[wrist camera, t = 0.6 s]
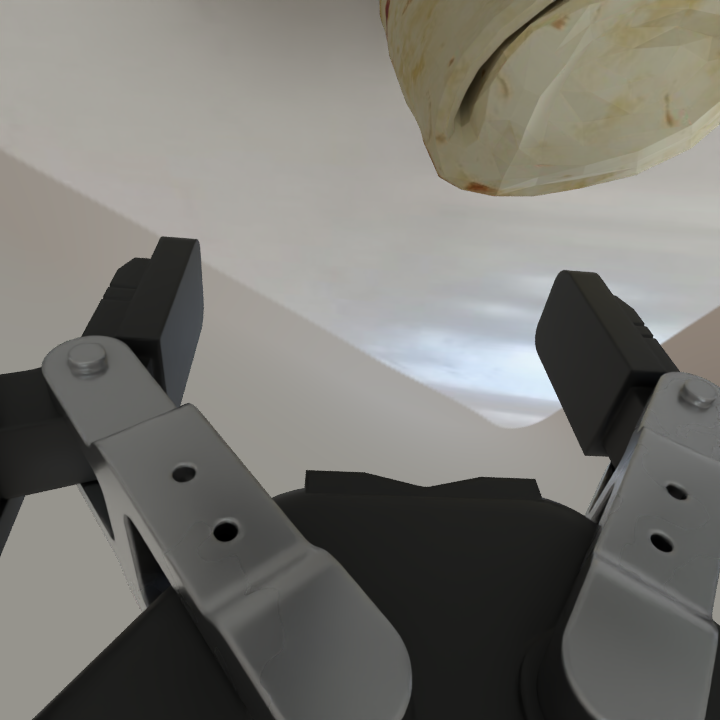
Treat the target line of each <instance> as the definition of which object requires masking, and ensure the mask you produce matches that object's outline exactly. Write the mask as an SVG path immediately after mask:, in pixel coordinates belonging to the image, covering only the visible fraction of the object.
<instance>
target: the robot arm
mask: <svg viewBox="0 0 720 720" xmlns="http://www.w3.org/2000/svg"><path fill="white" fill-rule="evenodd" d="M203 306H204V303H203V285H202V270H201V253H200V244H199V241H198V239H188V238H176V237H161V238H160V240H159V242H158V244H157V246H156V249H155V251H154V253H153V255H152V257H151V259H147V258H134V259H132V260H131V261H129V262H128V263H126V264H125V265H124V266H122V267H121V268H119V269H118V270H117V272H116V274H115V275H114V277H113V279H112V281H111V283H110V287H108V289H107V290H106V292H105V294H104V296H103V299H101V301H100V303H99V305H98V307H97V309H96V311H95V313H94V314H93V316H92V318H91V320H90V321H89V323H88V325H87V327H86V329H85V331H84V333H83V334H82V336H81V337H80V338H76V339H72V340H69V341H66V342H64V343H62V344H60V345H58V346H57V347H55V348H54V349H52V350H51V351H50V352H49V353H48V354H47V356H46V357H45V358H44V360H43V362H42V367H40V368H37V369H33V370H28V371H21V372H15V373H8V374H1V375H0V556H1V553H2V551H3V548H4V546H5V543H6V541H7V539H8V536H9V534H10V531H11V529H12V526H13V524H14V522H15V519H16V517H17V514H18V512H19V509H20V507H21V504H22V502H23V500H24V497H25V495H30V494H34V493H39V492H43V491H48V490H52V489H57V488H62V487H66V486H71V485H75V484H76V485H77V487H78V489H79V491H80V492H81V494H82V496H83V498H84V499H85V501H86V503H87V505H88V506H89V508H90V510H91V512H92V514H93V515H94V517H95V519H96V521H97V523H98V524H99V526H100V528H101V530H102V532H103V533H104V535H105V537H106V539H107V541H108V542H109V544H110V546H111V548H112V549H113V551H114V553H115V555H116V557H117V559H118V561H119V563H120V566H121V568H122V571H123V573H124V576H125V578H126V580H127V583H128V585H129V588H130V590H131V592H132V594H133V596H134V598H135V600H136V602H137V604H138V606H139V608H140V609H141V611H142V613H141V614H140V615H139V616H138V618H136V619H135V620H134V621H133V622H132V623H131V624H130V625H129V626H128V627H127V628H126V629H125V630H124V631H123V632H122V633H121V634H120V635H119V636H118V637H117V638H116V639H115V640H114V641H113V642H112V643H111V644H110V645H109V646H108V647H107V648H106V649H104V650H103V652H101V653H100V654H99V655H98V656H97V657H96V658H95V659H94V660H93V661H92V662H91V663H90V664H89V665H88V666H87V667H86V668H85V669H84V670H83V671H82V672H81V673H80V674H79V675H78V676H77V677H76V678H75V679H74V680H73V681H72V682H70V683H69V684H68V685H67V686H66V687H65V688H64V689H63V690H62V691H61V692H60V693H59V694H58V695H57V696H56V697H55V698H54V699H53V700H52V701H51V702H50V703H49V704H48V705H47V706H46V707H45V708H44V709H43V710H42V711H41V712H40V713H38V714H37V716H35V718H33V719H32V720H720V626H719V625H718V624H717V623H716V622H715V621H713V619H712V610H713V605H714V599H715V594H716V589H717V584H718V578H719V573H720V387H718V386H717V385H715V384H714V383H712V382H710V381H708V380H706V379H704V378H702V377H699V376H696V375H693V374H690V373H684V372H680V371H679V370H678V368H677V367H676V366H675V364H674V363H673V362H672V360H671V359H670V358H669V356H668V355H667V354H666V352H665V351H664V349H663V348H662V347H661V345H660V344H659V343H658V341H657V340H656V339H655V338H653V335H652V333H651V332H650V330H649V329H648V328H647V327H646V326H644V322H643V321H642V320H641V318H640V317H639V316H638V314H637V313H636V312H635V310H634V309H633V308H632V307H630V306H629V305H628V304H626V303H625V302H623V301H622V300H621V299H619V298H618V297H617V296H613V294H612V293H611V291H610V290H609V289H608V287H607V286H606V284H605V283H604V282H603V280H602V279H601V277H600V276H599V275H598V274H597V273H593V272H581V271H569V270H563V271H561V272H560V273H559V274H558V275H557V277H556V279H555V281H554V284H553V286H552V289H551V292H550V294H549V297H548V299H547V302H546V305H545V307H544V310H543V312H542V315H541V318H540V320H539V323H538V326H537V329H536V335H535V345H536V350H537V353H538V355H539V358H540V360H541V362H542V364H543V366H544V368H545V371H546V373H547V375H548V377H549V379H550V381H551V384H552V386H553V388H554V390H555V392H556V394H557V397H558V399H559V401H560V403H561V405H562V407H563V410H564V412H565V414H566V416H567V418H568V420H569V422H570V425H571V427H572V429H573V431H574V433H575V436H576V437H577V440H578V442H579V444H580V446H581V448H582V450H583V453H584V455H585V456H606V457H609V458H610V460H611V462H610V464H609V465H608V467H607V469H606V470H605V472H604V474H603V476H602V478H601V481H600V483H599V485H598V488H597V490H596V492H595V494H594V496H593V499H592V501H591V503H590V505H589V508H588V510H587V512H586V514H585V516H584V515H582V514H580V513H579V512H577V511H575V510H573V509H571V508H569V507H567V506H565V505H562V504H560V503H557V502H554V501H552V500H549V499H545V498H542V496H541V494H540V491H539V488H538V485H537V483H536V480H535V479H520V478H495V477H493V478H492V477H478V478H473V479H468V480H462V481H457V482H452V483H447V484H441V485H436V486H431V487H422V486H417V485H413V484H409V483H405V482H401V481H397V480H393V479H389V478H385V477H380V476H377V475H372V474H369V473H365V472H364V473H363V472H339V471H314V470H306V478H305V488H302V489H297V490H293V491H289V492H286V493H283V494H280V495H277V496H275V497H273V498H271V497H270V496H269V494H268V493H267V492H266V491H265V489H264V488H263V487H262V486H261V484H260V483H259V482H258V481H257V480H256V478H255V477H254V476H253V475H252V474H251V472H250V471H249V470H248V469H247V468H246V466H245V465H244V464H243V463H242V461H241V460H240V459H239V458H238V457H237V455H236V454H235V453H234V452H233V451H232V449H231V448H230V447H229V446H228V445H227V443H226V442H225V441H224V440H223V438H222V437H221V436H220V435H219V434H218V432H217V431H216V430H215V429H214V428H213V426H212V425H211V424H210V423H209V422H208V420H207V419H206V418H205V417H204V416H203V414H202V413H201V412H200V411H199V410H198V409H197V408H196V407H195V406H194V405H193V404H190V403H187V404H184V405H182V406H180V404H181V401H182V397H183V394H184V390H185V387H186V382H187V379H188V376H189V372H190V369H191V365H192V361H193V358H194V354H195V351H196V347H197V343H198V340H199V336H200V332H201V329H202V322H203V310H204V307H203Z"/></svg>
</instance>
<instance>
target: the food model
mask: <svg viewBox="0 0 720 720" xmlns="http://www.w3.org/2000/svg"><path fill="white" fill-rule="evenodd" d="M380 17H381V21H382V24H383V27H384V30H385V33H386V37H387V42H388V49H389V56H390V59H391V62H392V64H393V67H394V70H395V73H396V76H397V79H398V81H399V84H400V87H401V90H402V93H403V95H404V98H405V100H406V103H407V105H408V107H409V108H410V110H411V112H412V113H413V115H414V117H415V119H416V121H417V123H418V126H419V128H420V130H421V134H422V138H423V141H424V144H425V146H426V149H427V151H428V153H429V156H430V158H431V160H432V162H433V165H434V167H435V169H436V171H437V174H438V176H439V177H440V178H442V179H444V180H445V181H447V182H449V183H451V184H452V185H454V186H456V187H458V188H460V189H462V190H467V191H471V192H476V193H481V194H485V195H490V196H538V195H544V194H550V193H556V192H562V191H567V190H573V189H579V188H584V187H588V186H592V185H596V184H600V183H604V182H609V181H613V180H617V179H621V178H625V177H630V176H634V175H637V174H639V173H641V172H643V171H645V170H647V169H649V168H651V167H654V166H656V165H658V164H660V163H662V162H664V161H666V160H668V159H670V158H672V157H674V156H677V155H679V154H681V153H683V152H685V151H687V150H689V149H691V148H692V147H693V146H695V145H696V144H697V143H698V142H699V141H700V140H702V139H703V138H704V137H705V136H706V135H708V134H709V133H710V132H711V131H712V130H713V129H715V128H716V127H717V126H718V125H719V124H720V0H380Z"/></svg>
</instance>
